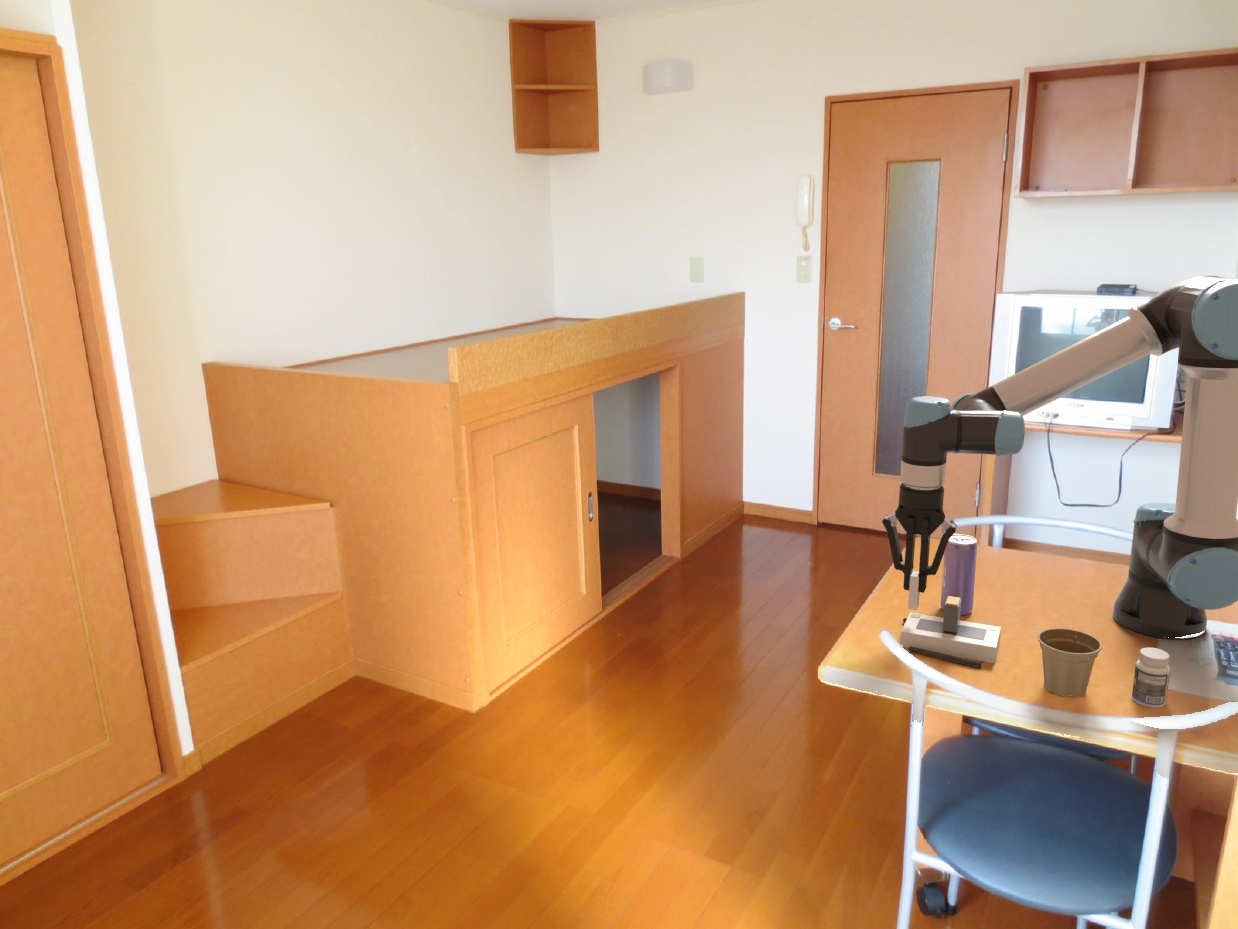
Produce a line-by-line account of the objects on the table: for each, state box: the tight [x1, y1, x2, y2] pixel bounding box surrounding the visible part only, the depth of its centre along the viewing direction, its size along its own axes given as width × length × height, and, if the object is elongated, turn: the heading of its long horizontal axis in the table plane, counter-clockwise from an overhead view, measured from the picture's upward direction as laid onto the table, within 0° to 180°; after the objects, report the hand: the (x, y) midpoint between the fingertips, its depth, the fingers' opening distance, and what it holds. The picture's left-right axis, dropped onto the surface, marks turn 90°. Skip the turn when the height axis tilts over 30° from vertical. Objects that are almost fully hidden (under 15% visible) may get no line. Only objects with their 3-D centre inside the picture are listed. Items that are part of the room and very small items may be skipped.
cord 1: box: [907, 646, 983, 669], centre depth 156 cm, size 12×1×1 cm, turn 56°
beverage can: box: [940, 533, 978, 616], centre depth 174 cm, size 6×6×15 cm
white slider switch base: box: [900, 611, 1002, 664], centre depth 161 cm, size 16×9×3 cm, turn 62°
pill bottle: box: [1131, 646, 1171, 709], centre depth 140 cm, size 5×5×8 cm
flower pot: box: [1036, 627, 1103, 698], centre depth 144 cm, size 9×9×9 cm
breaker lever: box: [943, 596, 962, 633], centre depth 160 cm, size 2×4×5 cm, turn 153°
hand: (913, 606), depth 163 cm, fingers closed
